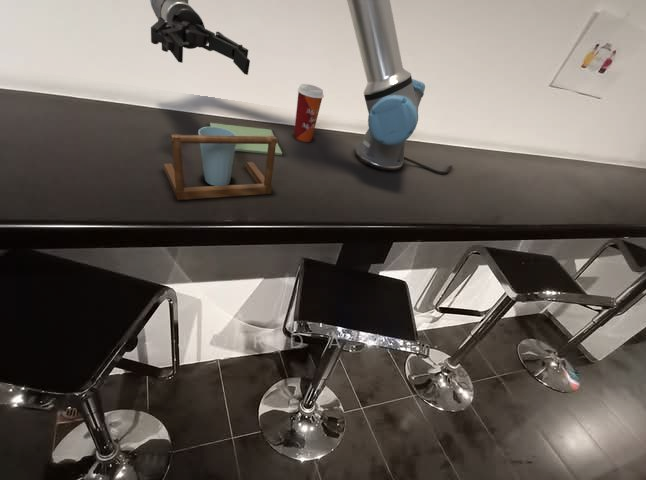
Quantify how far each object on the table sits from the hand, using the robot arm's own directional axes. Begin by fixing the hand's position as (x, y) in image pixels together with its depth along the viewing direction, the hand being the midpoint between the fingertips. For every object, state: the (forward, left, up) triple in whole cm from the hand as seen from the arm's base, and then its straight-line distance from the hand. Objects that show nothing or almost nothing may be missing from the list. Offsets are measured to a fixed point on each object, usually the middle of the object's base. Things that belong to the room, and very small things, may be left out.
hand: (215, 61), depth 68 cm
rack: (-1, +8, -21) cm, 23 cm away
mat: (-6, -18, -21) cm, 29 cm away
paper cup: (-22, -28, -22) cm, 42 cm away
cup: (-1, +8, -22) cm, 23 cm away
